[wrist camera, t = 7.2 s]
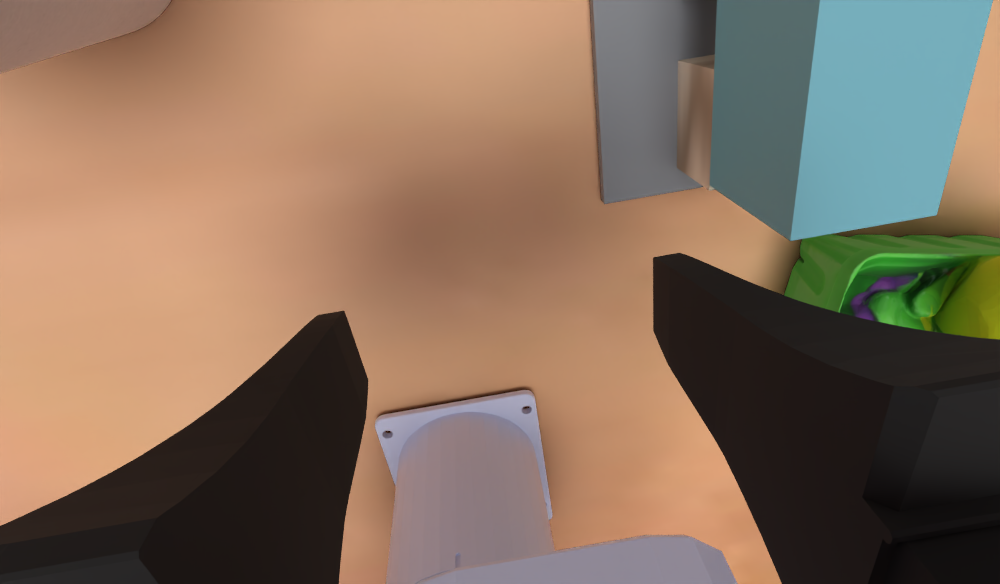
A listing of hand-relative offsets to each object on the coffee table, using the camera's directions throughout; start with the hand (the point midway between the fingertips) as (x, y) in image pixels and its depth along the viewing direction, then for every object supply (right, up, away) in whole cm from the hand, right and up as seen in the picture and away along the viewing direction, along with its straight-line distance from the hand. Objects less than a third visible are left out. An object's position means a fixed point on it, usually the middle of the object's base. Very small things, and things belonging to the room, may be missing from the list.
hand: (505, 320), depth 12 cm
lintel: (+8, +9, +4) cm, 13 cm away
